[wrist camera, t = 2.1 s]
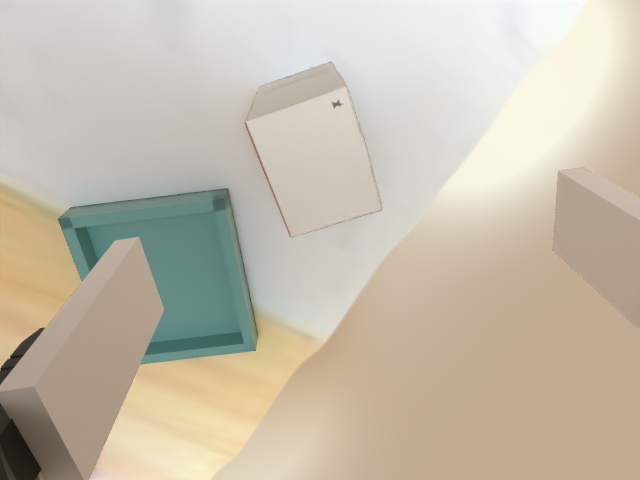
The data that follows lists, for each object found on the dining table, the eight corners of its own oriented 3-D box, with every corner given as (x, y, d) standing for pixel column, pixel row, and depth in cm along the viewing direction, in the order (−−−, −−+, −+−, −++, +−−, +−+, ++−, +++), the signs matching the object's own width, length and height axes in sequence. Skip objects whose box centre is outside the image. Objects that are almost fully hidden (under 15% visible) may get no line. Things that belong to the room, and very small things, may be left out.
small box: (257, 86, 39) (241, 119, 27) (332, 59, 38) (348, 81, 26) (291, 176, 42) (290, 240, 30) (360, 153, 42) (386, 210, 30)
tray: (123, 350, 49) (114, 367, 47) (70, 207, 42) (58, 219, 40) (257, 334, 49) (255, 350, 47) (227, 188, 42) (223, 198, 40)
